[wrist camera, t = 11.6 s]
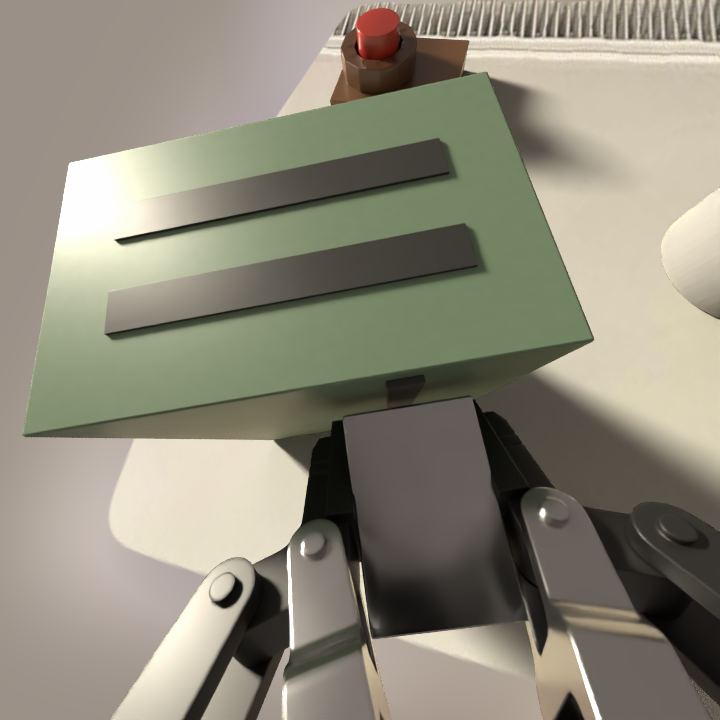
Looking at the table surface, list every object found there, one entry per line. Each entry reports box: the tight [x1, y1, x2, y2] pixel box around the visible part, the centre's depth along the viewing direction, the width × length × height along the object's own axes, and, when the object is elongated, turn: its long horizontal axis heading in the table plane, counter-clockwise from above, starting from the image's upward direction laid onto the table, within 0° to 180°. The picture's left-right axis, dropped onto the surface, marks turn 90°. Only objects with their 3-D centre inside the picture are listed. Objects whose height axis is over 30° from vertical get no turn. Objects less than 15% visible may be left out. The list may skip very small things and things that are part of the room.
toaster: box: [23, 72, 594, 440], centre depth 15 cm, size 13×9×15 cm, turn 99°
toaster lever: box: [343, 395, 527, 639], centre depth 8 cm, size 4×5×2 cm
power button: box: [356, 8, 400, 60], centre depth 25 cm, size 4×4×2 cm
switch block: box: [330, 22, 469, 106], centre depth 27 cm, size 11×9×4 cm
